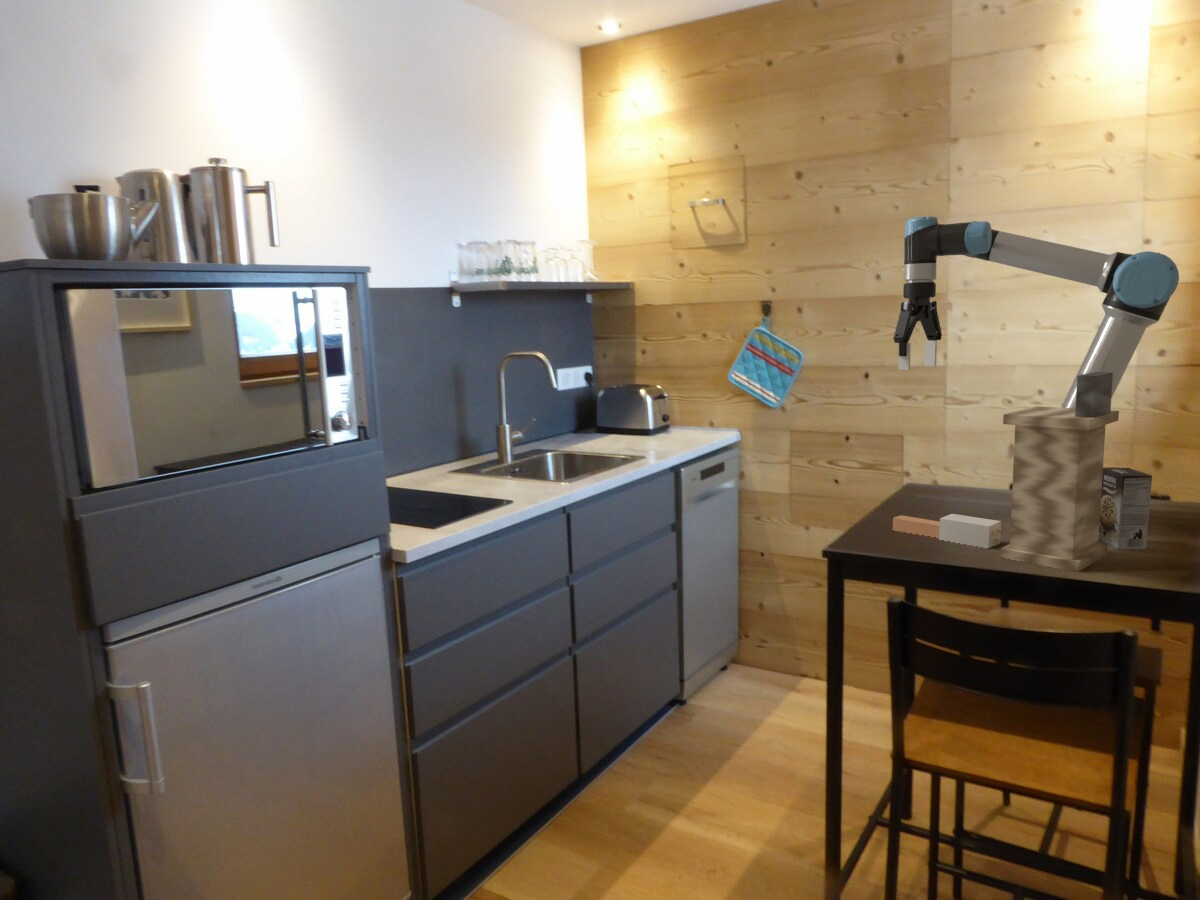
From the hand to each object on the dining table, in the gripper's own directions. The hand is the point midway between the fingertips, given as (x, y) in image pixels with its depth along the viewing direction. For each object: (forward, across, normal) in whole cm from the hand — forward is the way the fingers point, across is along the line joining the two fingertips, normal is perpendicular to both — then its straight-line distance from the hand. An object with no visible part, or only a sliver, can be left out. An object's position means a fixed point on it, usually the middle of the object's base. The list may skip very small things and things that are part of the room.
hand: (917, 368), depth 219 cm
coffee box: (+37, +1, +48) cm, 61 cm away
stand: (+37, +20, +41) cm, 58 cm away
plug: (+37, +20, +18) cm, 45 cm away
